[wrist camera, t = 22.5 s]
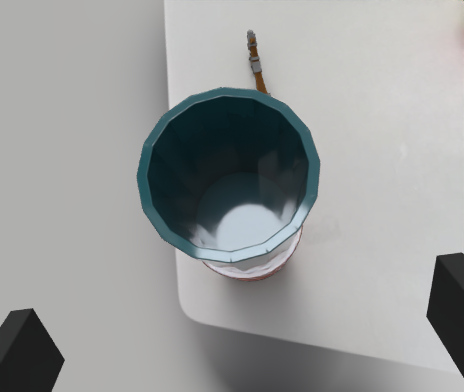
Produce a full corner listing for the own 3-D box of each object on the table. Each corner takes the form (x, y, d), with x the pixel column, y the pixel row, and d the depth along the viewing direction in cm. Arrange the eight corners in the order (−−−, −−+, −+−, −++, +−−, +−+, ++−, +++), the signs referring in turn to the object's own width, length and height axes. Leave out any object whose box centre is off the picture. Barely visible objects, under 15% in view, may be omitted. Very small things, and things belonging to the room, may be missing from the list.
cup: (183, 264, 25) (120, 247, 14) (201, 164, 26) (156, 81, 16) (291, 280, 24) (310, 275, 13) (302, 175, 25) (327, 94, 15)
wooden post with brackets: (255, 36, 46) (257, 25, 42) (268, 99, 47) (271, 95, 43) (241, 39, 46) (242, 29, 42) (254, 102, 47) (256, 99, 43)
